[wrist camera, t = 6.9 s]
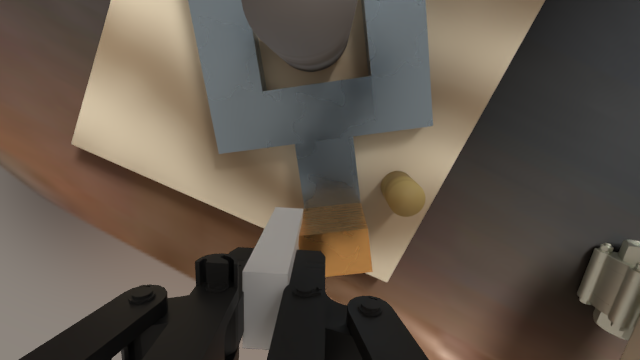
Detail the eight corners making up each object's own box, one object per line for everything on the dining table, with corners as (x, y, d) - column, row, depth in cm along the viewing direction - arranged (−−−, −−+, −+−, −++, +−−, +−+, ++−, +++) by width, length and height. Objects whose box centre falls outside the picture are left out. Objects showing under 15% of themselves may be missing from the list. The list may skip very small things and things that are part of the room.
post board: (211, -293, 15) (110, -625, 8) (586, -93, 17) (771, -237, 10) (86, 141, 20) (-46, 161, 13) (384, 272, 21) (409, 355, 14)
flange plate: (182, -74, 16) (117, -150, 11) (411, -115, 15) (447, -214, 11) (244, 242, 20) (215, 288, 15) (432, 221, 19) (467, 262, 14)
